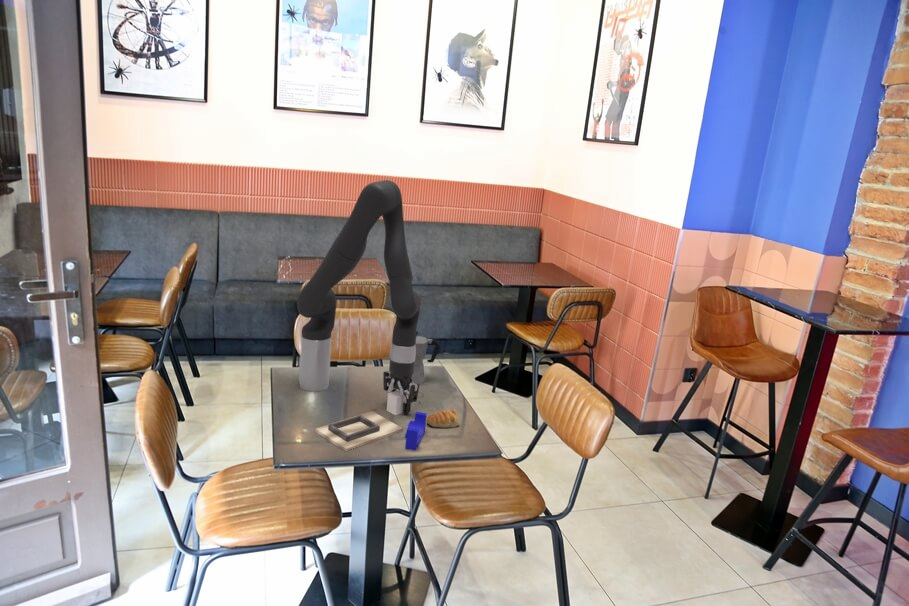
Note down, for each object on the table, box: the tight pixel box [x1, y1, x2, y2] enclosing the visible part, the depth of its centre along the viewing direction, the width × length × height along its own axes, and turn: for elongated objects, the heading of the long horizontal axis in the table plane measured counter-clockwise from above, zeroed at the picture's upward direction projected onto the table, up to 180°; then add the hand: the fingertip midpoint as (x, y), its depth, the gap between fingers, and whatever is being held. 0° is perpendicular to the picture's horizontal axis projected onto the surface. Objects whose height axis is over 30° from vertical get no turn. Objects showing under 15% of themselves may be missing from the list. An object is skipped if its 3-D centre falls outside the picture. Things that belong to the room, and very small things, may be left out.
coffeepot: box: [412, 330, 441, 386], centre depth 213 cm, size 15×9×18 cm, turn 87°
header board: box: [314, 410, 404, 452], centre depth 175 cm, size 14×20×2 cm
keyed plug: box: [386, 389, 408, 416], centre depth 190 cm, size 4×7×6 cm, turn 136°
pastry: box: [426, 409, 460, 429], centre depth 184 cm, size 9×7×4 cm
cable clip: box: [404, 411, 427, 451], centre depth 173 cm, size 12×4×6 cm, turn 171°
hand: (398, 409), depth 191 cm, fingers open, 6 cm apart
